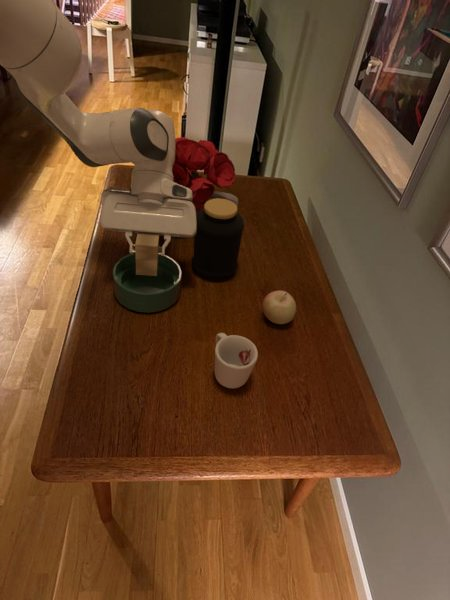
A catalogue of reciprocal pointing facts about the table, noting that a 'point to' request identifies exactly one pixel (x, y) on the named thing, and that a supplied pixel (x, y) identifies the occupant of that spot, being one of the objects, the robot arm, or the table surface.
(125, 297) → the green pet bowl
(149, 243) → the plain beige block
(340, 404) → the table surface
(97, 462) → the table surface
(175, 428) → the table surface
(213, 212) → the container
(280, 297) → the fruit
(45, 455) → the table surface
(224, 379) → the cup
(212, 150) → the bouquet
